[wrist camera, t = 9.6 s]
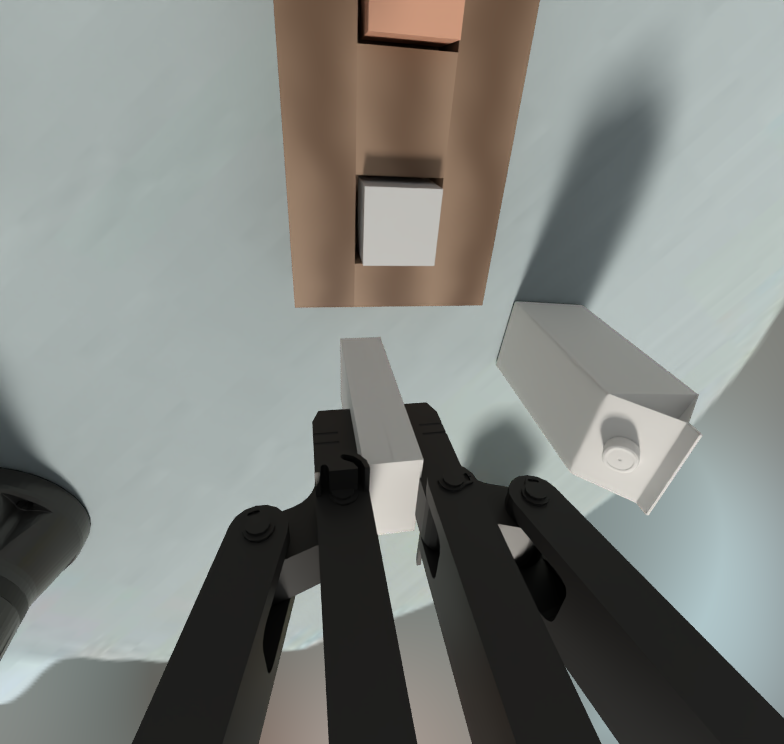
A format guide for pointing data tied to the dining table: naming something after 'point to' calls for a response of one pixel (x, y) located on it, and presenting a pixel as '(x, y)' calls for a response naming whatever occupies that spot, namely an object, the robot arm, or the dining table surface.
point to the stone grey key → (398, 220)
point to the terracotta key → (412, 21)
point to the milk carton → (599, 399)
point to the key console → (396, 144)
